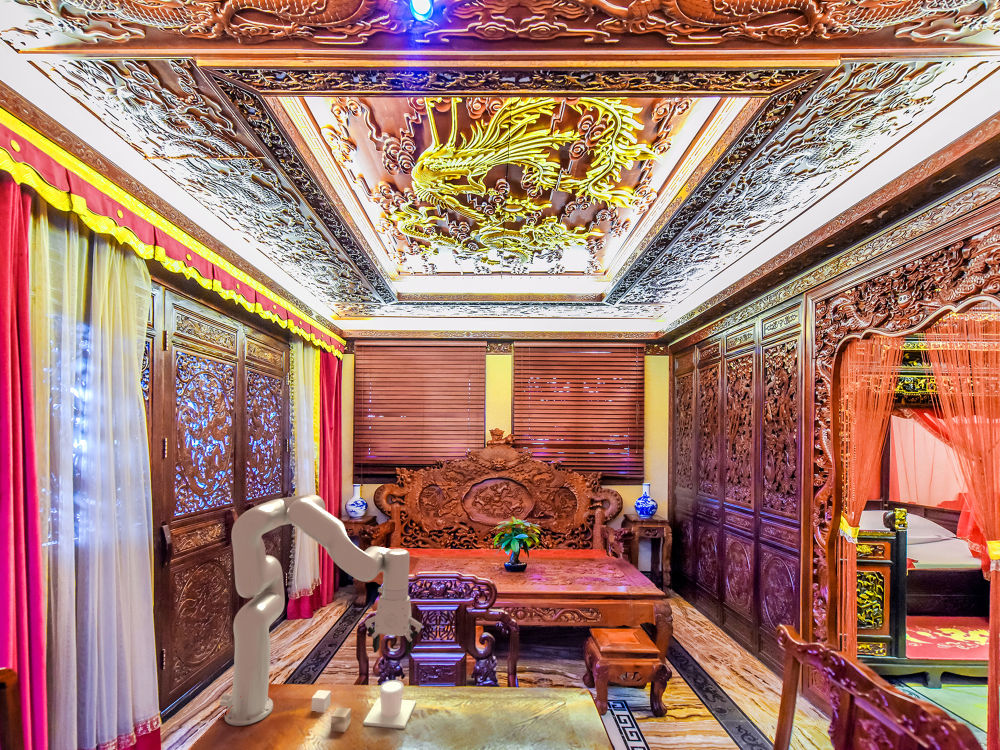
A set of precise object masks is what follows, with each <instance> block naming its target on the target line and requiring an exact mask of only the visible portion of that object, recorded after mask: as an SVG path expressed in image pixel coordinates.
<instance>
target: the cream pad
mask: <svg viewBox="0 0 1000 750" xmlns="http://www.w3.org/2000/svg"><path fill="white" fill-rule="evenodd" d="M416 705H417V700H413V699H403V698H402V704H401V711H400V713H399V714H398V715H396V716H393V717H386V716H383V715H382V713H381V697H377V699H376V700H375V702H374V704H373V705H372V707H371V709H370V710H369V712H368V714H367V716H366V717H365V719H364V721H363V723H362V724H363V726H370V727H379V728H380V727H382V728H391V729H392V728H393V729H403V730H404V729H406V726H407V725H408V722H409V720H410V718H411V715H412V714H413V712H414V709H415V708H416Z"/></svg>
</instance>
